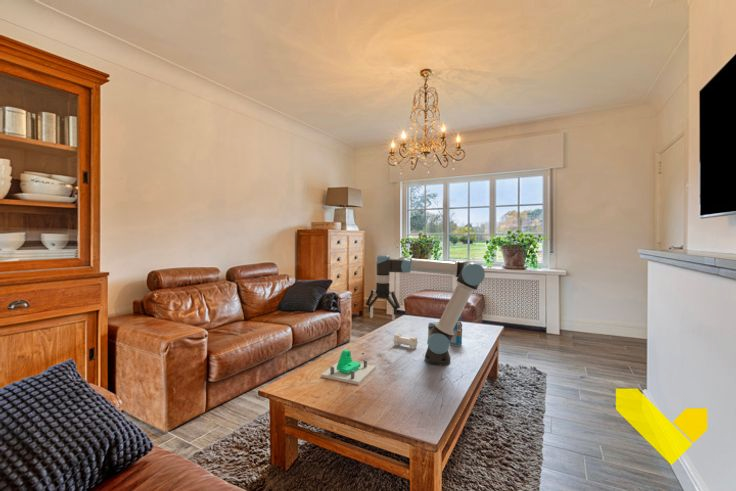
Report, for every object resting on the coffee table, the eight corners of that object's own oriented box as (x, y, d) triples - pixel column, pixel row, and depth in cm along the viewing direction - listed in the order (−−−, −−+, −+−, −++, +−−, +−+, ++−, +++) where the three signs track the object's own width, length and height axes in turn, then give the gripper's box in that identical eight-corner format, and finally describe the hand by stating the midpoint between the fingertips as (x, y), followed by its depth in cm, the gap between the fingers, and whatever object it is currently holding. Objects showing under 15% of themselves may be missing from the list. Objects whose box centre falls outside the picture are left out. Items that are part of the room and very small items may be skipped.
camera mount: (347, 375, 178) (347, 356, 177) (336, 371, 182) (336, 352, 182) (361, 368, 187) (361, 349, 187) (350, 364, 192) (350, 346, 191)
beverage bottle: (448, 345, 231) (449, 316, 230) (450, 341, 239) (450, 313, 238) (461, 347, 228) (462, 317, 227) (462, 343, 236) (463, 314, 235)
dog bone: (417, 348, 227) (418, 336, 227) (412, 350, 219) (413, 338, 220) (398, 343, 235) (398, 332, 235) (392, 346, 228) (392, 334, 228)
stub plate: (375, 368, 190) (375, 360, 190) (358, 384, 170) (359, 375, 170) (340, 362, 199) (341, 353, 199) (321, 376, 179) (321, 367, 179)
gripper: (405, 282, 193) (405, 319, 194) (365, 279, 203) (365, 315, 204) (401, 284, 186) (401, 323, 187) (360, 281, 196) (360, 318, 197)
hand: (382, 319), depth 195 cm, fingers open, 13 cm apart
